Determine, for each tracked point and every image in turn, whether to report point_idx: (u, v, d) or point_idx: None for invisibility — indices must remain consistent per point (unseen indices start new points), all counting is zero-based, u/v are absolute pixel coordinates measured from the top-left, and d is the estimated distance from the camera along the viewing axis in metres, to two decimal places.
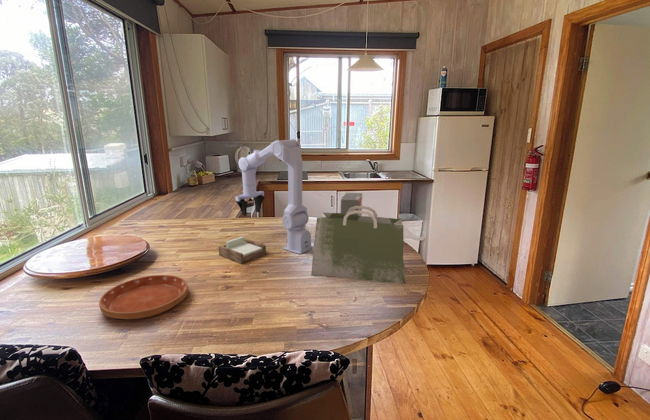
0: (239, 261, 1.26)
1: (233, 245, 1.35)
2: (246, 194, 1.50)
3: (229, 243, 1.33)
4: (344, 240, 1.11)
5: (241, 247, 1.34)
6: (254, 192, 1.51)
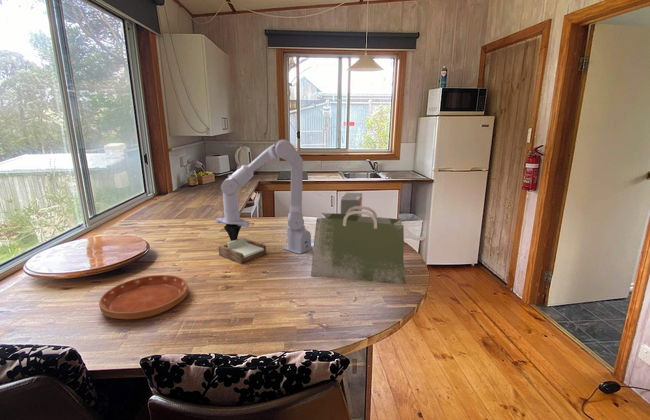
0: (239, 261, 1.26)
1: (234, 246, 1.34)
2: None
3: (231, 244, 1.32)
4: (344, 241, 1.10)
5: (243, 248, 1.33)
6: (228, 219, 1.31)
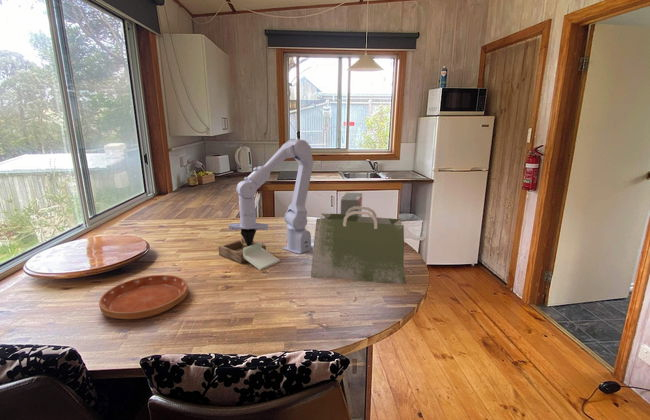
0: (239, 261, 1.26)
1: (250, 252, 1.28)
2: (240, 224, 1.27)
3: (246, 250, 1.26)
4: (344, 241, 1.10)
5: (258, 255, 1.27)
6: (247, 224, 1.25)
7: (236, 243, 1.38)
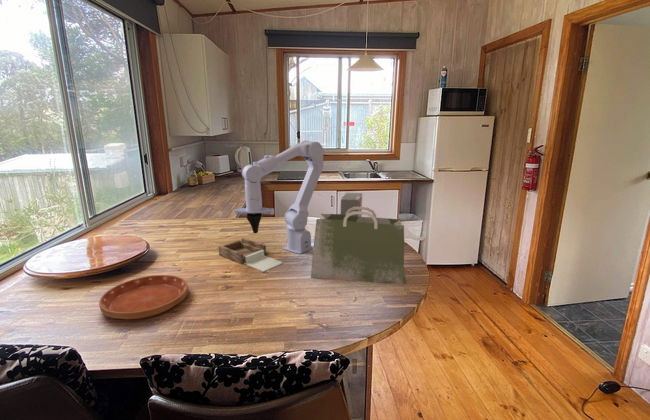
0: (239, 261, 1.26)
1: (253, 259, 1.28)
2: (246, 208, 1.27)
3: (249, 257, 1.26)
4: (344, 241, 1.09)
5: (261, 262, 1.27)
6: (253, 208, 1.25)
7: (236, 243, 1.38)
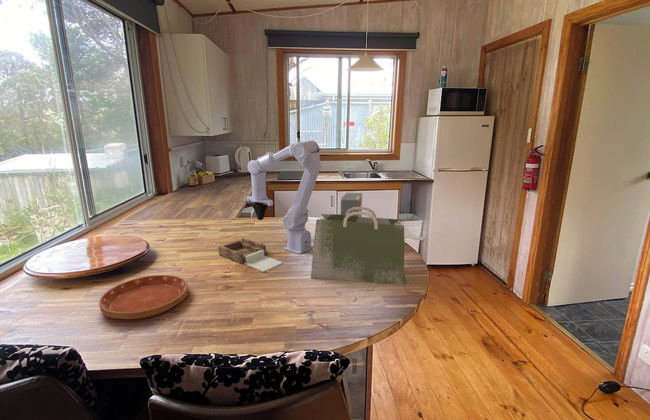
0: (239, 261, 1.26)
1: (253, 259, 1.28)
2: None
3: (249, 257, 1.26)
4: (344, 242, 1.09)
5: (261, 262, 1.27)
6: (254, 197, 1.42)
7: (236, 243, 1.38)
